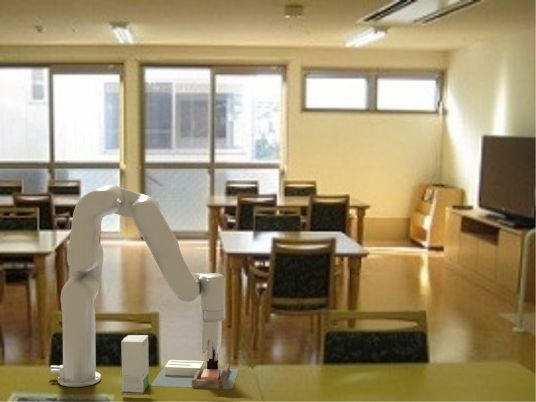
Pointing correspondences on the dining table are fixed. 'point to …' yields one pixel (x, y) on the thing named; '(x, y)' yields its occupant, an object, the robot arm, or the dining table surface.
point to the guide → (211, 383)
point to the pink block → (210, 374)
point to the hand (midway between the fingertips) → (212, 372)
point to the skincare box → (135, 364)
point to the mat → (190, 379)
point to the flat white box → (183, 367)
